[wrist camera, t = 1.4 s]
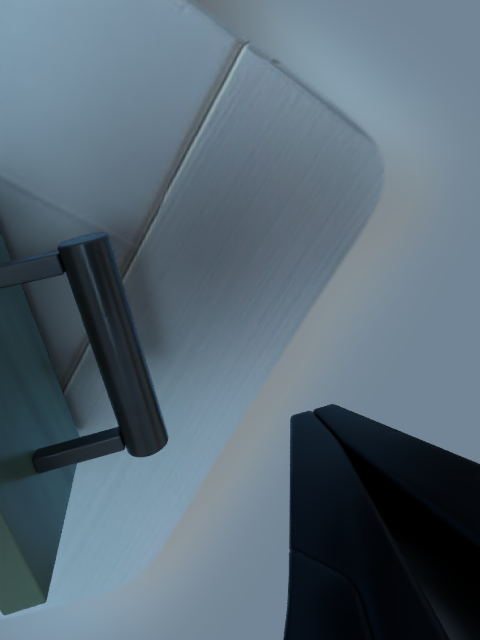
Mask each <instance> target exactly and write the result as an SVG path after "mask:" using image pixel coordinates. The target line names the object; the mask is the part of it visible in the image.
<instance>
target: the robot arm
mask: <svg viewBox="0 0 480 640" xmlns="http://www.w3.org/2000/svg"><path fill="white" fill-rule="evenodd" d="M289 537H290V539H289V544H290V545H289V548H290V552H289V583H288V603H287V605H288V606H287V614H286V622H285V631H284V640H480V464H478V463H476V462H474V461H471V460H468V459H466V458H464V457H461V456H459V455H456V454H454V453H452V452H449V451H447V450H444V449H442V448H440V447H437V446H435V445H432V444H430V443H427V442H425V441H422V440H420V439H418V438H415V437H412V436H410V435H408V434H405V433H403V432H401V431H398V430H396V429H393V428H391V427H388V426H386V425H383V424H381V423H379V422H376V421H374V420H371V419H369V418H367V417H364V416H362V415H359V414H357V413H354V412H352V411H349V410H347V409H345V408H342V407H340V406H337V405H334V404H331V405H327V406H324V407H320V408H317V409H315V410H314V411H313V412H312V411H307V412H303V413H299V414H296V415H293V416H292V417H291V420H290V535H289Z"/></svg>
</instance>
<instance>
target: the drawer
mask: <svg viewBox="0 0 480 640" xmlns="http://www.w3.org/2000/svg"><path fill="white" fill-rule="evenodd" d="M57 248H58V251H54V252H50V253H45V254H41V255H36V256H32V257H27V258H23V259H18V260H14V261H11V258H10V256H9V253H8V250H7V248H6V245H5V243H4V240H3V237H2V235H1V232H0V610H1V612H2V614H3V615H8V614H11V613H14V612H17V611H20V610H23V609H27V608H30V607H33V606H36V605H39V604H42V603H45V602H46V600H47V596H48V591H49V587H50V582H51V578H52V573H53V569H54V564H55V560H56V555H57V551H58V546H59V542H60V537H61V533H62V528H63V524H64V519H65V515H66V510H67V506H68V501H69V497H70V492H71V488H72V483H73V479H74V474H75V469H76V465H77V463H79V462H83V461H87V460H90V459H94V458H97V457H101V456H104V455H108V454H111V453H115V452H119V451H122V450H124V449H125V446H126V449H127V451H128V453H129V454H130V455H132V456H134V457H146V456H150V455H153V454H155V453H157V452H158V451H160V450H161V449H162V448H163V447H164V446H165V445H166V444H167V442H168V433H167V430H166V427H165V423H164V420H163V416H162V413H161V410H160V406H159V403H158V400H157V396H156V393H155V390H154V386H153V383H152V380H151V376H150V373H149V370H148V366H147V363H146V359H145V356H144V353H143V349H142V346H141V343H140V339H139V336H138V333H137V329H136V326H135V323H134V319H133V316H132V312H131V309H130V306H129V302H128V299H127V296H126V292H125V289H124V286H123V282H122V279H121V276H120V272H119V269H118V266H117V262H116V259H115V255H114V252H113V249H112V245H111V242H110V239H109V236H108V234H107V233H96V234H90V235H85V236H81V237H77V238H73V239H70V240H67V241H64V242H62V243H60V244H59V245H58V247H57ZM65 272H66V275H67V277H68V280H69V283H70V286H71V289H72V292H73V295H74V298H75V301H76V304H77V306H78V309H79V312H80V315H81V318H82V321H83V324H84V327H85V330H86V333H87V335H88V338H89V341H90V344H91V347H92V350H93V353H94V356H95V359H96V362H97V364H98V367H99V370H100V373H101V376H102V379H103V382H104V385H105V388H106V391H107V394H108V396H109V399H110V402H111V405H112V408H113V411H114V414H115V417H116V420H117V423H118V425H119V427H116V428H112V429H109V430H105V431H101V432H98V433H94V434H90V435H87V436H83V437H80V436H79V434H78V431H77V428H76V426H75V423H74V421H73V418H72V416H71V413H70V410H69V408H68V405H67V403H66V400H65V397H64V395H63V392H62V390H61V387H60V385H59V382H58V379H57V377H56V374H55V372H54V369H53V367H52V364H51V361H50V359H49V356H48V354H47V351H46V348H45V346H44V343H43V341H42V338H41V336H40V333H39V330H38V328H37V325H36V323H35V320H34V317H33V315H32V312H31V310H30V307H29V305H28V302H27V299H26V297H25V294H24V292H23V289H22V287H21V284H24V283H29V282H33V281H37V280H42V279H46V278H51V277H55V276H59V275H63V274H64V273H65Z"/></svg>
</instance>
